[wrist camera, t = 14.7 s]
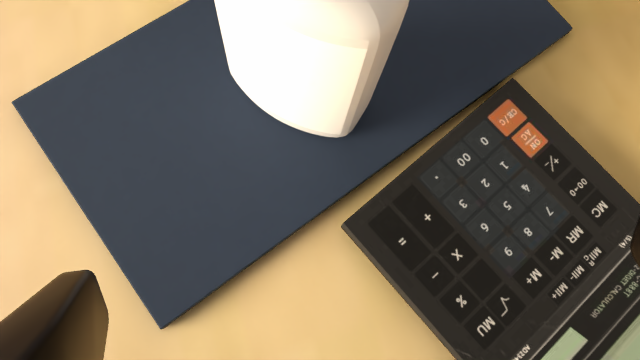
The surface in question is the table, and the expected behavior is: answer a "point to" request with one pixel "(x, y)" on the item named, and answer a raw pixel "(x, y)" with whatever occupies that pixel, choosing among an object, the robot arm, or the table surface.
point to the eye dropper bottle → (310, 56)
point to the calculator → (510, 240)
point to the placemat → (248, 136)
